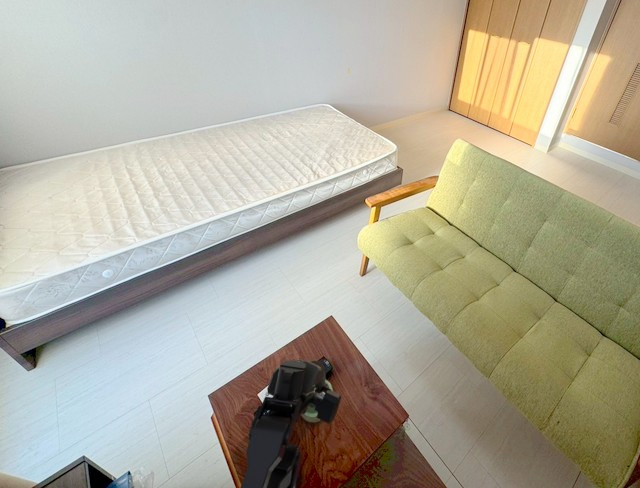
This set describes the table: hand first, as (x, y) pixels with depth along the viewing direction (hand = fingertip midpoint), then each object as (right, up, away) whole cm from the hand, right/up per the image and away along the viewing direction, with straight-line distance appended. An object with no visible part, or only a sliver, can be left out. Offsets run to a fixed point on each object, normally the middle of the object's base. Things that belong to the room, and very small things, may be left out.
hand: (317, 380), depth 85 cm
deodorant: (-1, -6, +3) cm, 7 cm away
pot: (-2, -10, +6) cm, 12 cm away
